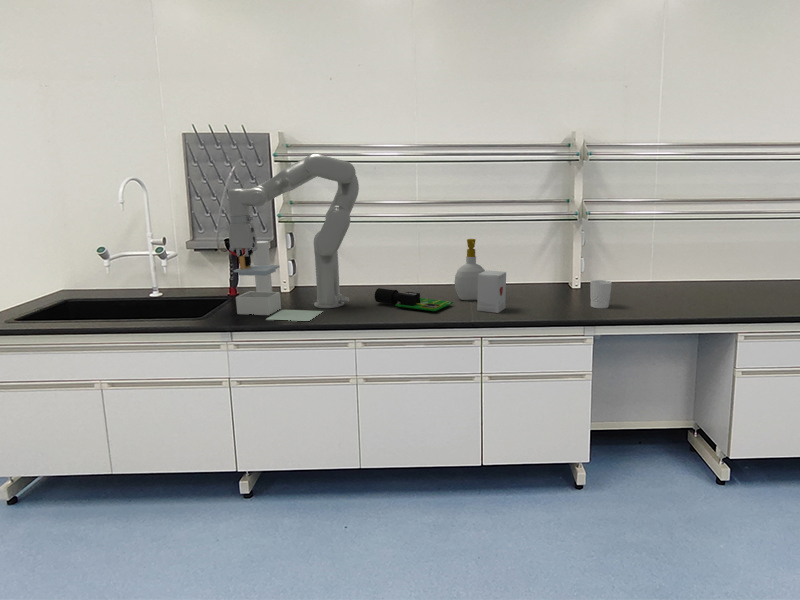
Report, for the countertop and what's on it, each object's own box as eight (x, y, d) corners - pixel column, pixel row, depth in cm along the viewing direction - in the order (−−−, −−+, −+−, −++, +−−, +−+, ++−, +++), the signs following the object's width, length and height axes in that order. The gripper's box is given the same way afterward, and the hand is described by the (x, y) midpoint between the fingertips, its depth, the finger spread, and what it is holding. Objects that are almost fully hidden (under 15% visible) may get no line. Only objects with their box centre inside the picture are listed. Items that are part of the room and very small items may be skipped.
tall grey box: (268, 298, 251) (264, 243, 245) (254, 297, 252) (249, 243, 247) (275, 294, 258) (271, 241, 252) (260, 294, 259) (256, 241, 253)
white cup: (601, 310, 216) (602, 284, 214) (584, 306, 223) (586, 281, 220) (614, 307, 220) (615, 282, 218) (597, 303, 227) (599, 279, 224)
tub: (281, 308, 231) (279, 292, 230) (269, 315, 221) (267, 298, 219) (250, 307, 235) (249, 291, 233) (237, 314, 224) (235, 297, 223)
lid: (280, 270, 228) (278, 253, 226) (267, 276, 217) (265, 257, 215) (248, 270, 231) (246, 253, 230) (234, 276, 221) (232, 257, 219)
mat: (323, 312, 224) (323, 311, 224) (309, 322, 210) (308, 321, 210) (282, 310, 228) (282, 309, 228) (265, 320, 214) (265, 319, 214)
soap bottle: (456, 302, 233) (456, 241, 227) (452, 298, 242) (452, 238, 236) (490, 301, 235) (491, 239, 229) (484, 296, 243) (485, 237, 237)
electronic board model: (453, 289, 227) (435, 297, 215) (453, 306, 229) (435, 314, 216) (392, 283, 243) (372, 289, 231) (393, 298, 244) (373, 305, 232)
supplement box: (498, 313, 215) (499, 275, 212) (476, 311, 219) (477, 273, 216) (506, 308, 223) (506, 271, 219) (485, 306, 227) (485, 270, 224)
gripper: (263, 218, 222) (267, 264, 226) (227, 219, 226) (232, 264, 230) (254, 220, 215) (258, 267, 219) (217, 221, 219) (222, 267, 223)
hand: (245, 265), depth 225 cm, fingers closed on lid
